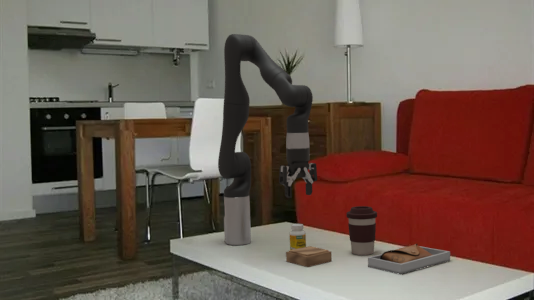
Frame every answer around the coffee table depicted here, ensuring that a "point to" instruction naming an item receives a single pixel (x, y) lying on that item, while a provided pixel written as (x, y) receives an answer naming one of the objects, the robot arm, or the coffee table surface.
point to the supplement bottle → (297, 237)
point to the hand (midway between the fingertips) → (298, 196)
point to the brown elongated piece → (405, 254)
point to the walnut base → (308, 256)
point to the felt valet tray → (410, 262)
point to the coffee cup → (362, 229)
